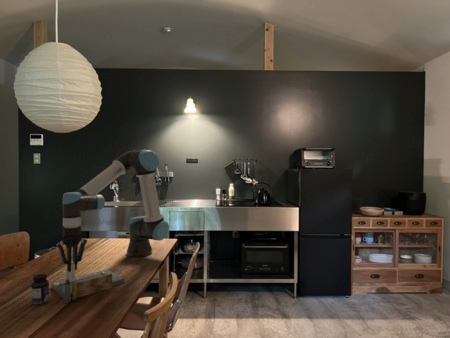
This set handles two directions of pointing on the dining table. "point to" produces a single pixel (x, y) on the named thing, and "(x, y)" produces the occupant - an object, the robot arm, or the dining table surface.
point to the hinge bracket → (66, 293)
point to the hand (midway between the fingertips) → (72, 277)
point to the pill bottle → (40, 290)
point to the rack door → (91, 286)
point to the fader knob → (67, 275)
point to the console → (115, 279)
